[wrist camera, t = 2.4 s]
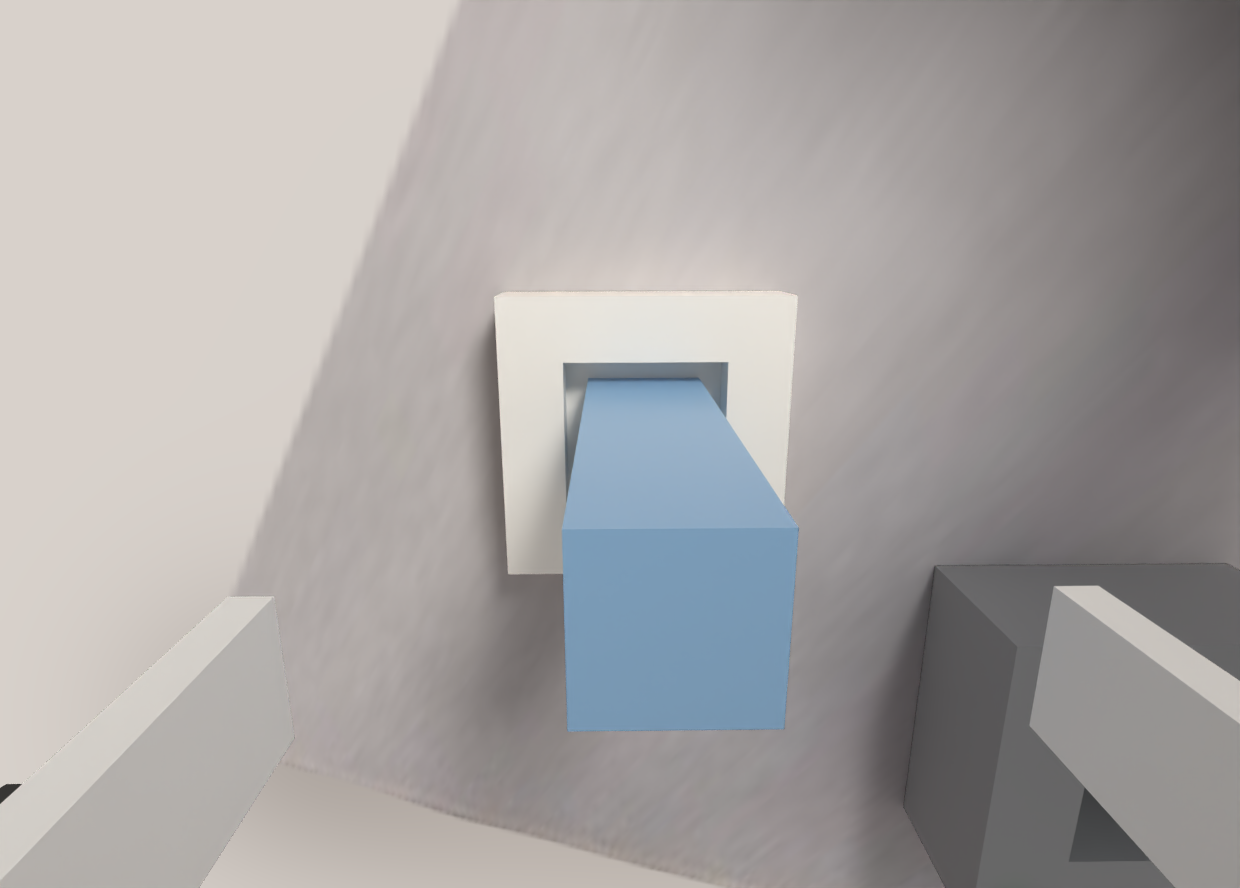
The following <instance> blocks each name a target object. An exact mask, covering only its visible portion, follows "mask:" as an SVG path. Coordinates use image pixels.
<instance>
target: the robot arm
mask: <svg viewBox="0 0 1240 888" xmlns="http://www.w3.org/2000/svg"><path fill="white" fill-rule="evenodd" d="M1029 726H1030V727H1031V728H1032V729H1033V730H1034V731H1035V732H1036V733H1037V735H1038V736H1039V737H1040V738H1041V739H1042V740H1043V741H1044V742H1045V743H1046V745H1047V746H1048V747H1049V748H1050V749H1051V750H1052V751H1053V752H1054V753H1055V755H1056V756H1057V757H1058V758H1059V759H1060V760H1061V761H1062V762H1063V763H1064V765H1065V766H1066V767H1067V768H1068V769H1069V770H1070V771H1071V772H1072V773H1073V775H1074V776H1075V777H1076V778H1077V779H1078V780H1079V781H1080V782H1081V783H1082V785H1083V786H1084V787H1085V788H1086V789H1087V790H1088V791H1089V792H1090V793H1091V795H1092V796H1093V797H1094V798H1095V799H1096V800H1097V801H1098V802H1099V803H1100V805H1101V806H1102V807H1103V808H1104V809H1105V810H1106V811H1107V812H1108V813H1109V815H1110V816H1111V817H1112V818H1113V819H1114V820H1115V821H1116V822H1117V823H1118V825H1119V826H1120V827H1121V828H1122V829H1123V830H1124V831H1125V832H1126V833H1127V835H1128V836H1129V837H1130V838H1131V839H1132V840H1133V841H1134V842H1135V843H1136V845H1137V846H1138V847H1139V848H1140V849H1141V850H1142V851H1143V852H1144V853H1145V855H1146V856H1147V857H1148V858H1149V859H1150V860H1151V861H1152V862H1153V863H1154V865H1155V866H1156V867H1157V868H1158V869H1159V870H1160V871H1161V872H1162V873H1163V875H1164V876H1165V877H1166V878H1167V879H1168V880H1169V881H1170V882H1171V883H1172V885H1173V886H1174V887H1175V888H1240V681H1239V680H1238V679H1236V678H1235V677H1233V676H1232V675H1230V674H1229V673H1227V672H1226V671H1224V670H1223V669H1221V668H1220V667H1218V666H1217V665H1215V664H1214V663H1212V662H1211V661H1209V660H1208V659H1207V658H1205V657H1204V656H1202V655H1201V654H1199V653H1198V652H1196V651H1195V650H1193V649H1192V648H1190V647H1189V646H1187V645H1186V644H1184V643H1183V642H1181V641H1180V640H1178V639H1177V638H1175V637H1174V636H1172V635H1171V634H1169V633H1168V632H1166V631H1165V630H1163V629H1162V628H1160V627H1159V626H1157V625H1156V624H1155V623H1153V622H1152V621H1150V620H1149V619H1147V618H1146V617H1144V616H1143V615H1141V614H1140V613H1138V612H1137V611H1135V610H1134V609H1132V608H1131V607H1129V606H1128V605H1126V604H1125V603H1123V602H1122V601H1120V600H1119V599H1117V598H1116V597H1114V596H1113V595H1111V594H1110V593H1108V592H1107V591H1105V590H1104V589H1102V588H1101V587H1100V586H1054V588H1053V593H1052V599H1051V605H1050V610H1049V616H1048V622H1047V628H1046V633H1045V639H1044V645H1043V650H1042V656H1041V662H1040V667H1039V673H1038V679H1037V684H1036V690H1035V696H1034V701H1033V707H1032V713H1031V719H1030V724H1029ZM294 738H295V735H294V729H293V722H292V715H291V708H290V701H289V694H288V688H287V681H286V674H285V667H284V660H283V653H282V647H281V640H280V633H279V626H278V619H277V612H276V606H275V599H274V596H249V597H227V598H226V599H225V600H223V601H222V602H221V603H220V604H219V605H218V606H217V607H216V608H215V609H214V610H213V611H211V612H210V613H209V614H208V615H207V616H206V617H205V618H204V619H203V620H202V621H200V622H199V623H198V624H197V625H196V626H195V627H194V628H193V629H192V630H191V631H190V632H188V633H187V634H186V635H185V636H184V637H183V638H182V639H181V640H180V641H178V643H176V644H175V645H174V646H173V647H172V648H171V649H170V650H169V651H168V652H167V653H166V654H164V655H163V656H162V657H161V658H160V659H159V660H158V661H157V662H156V663H154V664H153V665H152V666H151V667H150V668H149V669H148V670H147V671H146V672H145V673H143V674H142V675H141V676H140V677H139V678H138V679H137V680H136V681H135V682H134V683H132V684H131V685H130V686H129V687H128V688H127V689H126V690H125V691H124V692H123V693H122V694H120V695H119V696H118V697H117V698H116V699H115V700H114V701H113V702H112V703H111V704H109V705H108V707H106V708H105V709H104V710H103V711H102V712H101V713H100V714H99V715H97V716H96V717H95V718H94V719H93V720H92V721H91V722H90V723H89V724H88V725H86V726H85V727H84V728H83V729H82V730H81V731H80V732H79V733H78V734H77V735H76V736H74V737H73V738H72V739H71V740H70V741H69V742H68V743H67V744H66V745H64V746H63V748H61V749H60V750H59V751H58V752H57V753H56V754H55V755H54V756H52V757H51V758H50V759H49V760H48V761H47V762H46V763H45V764H44V765H43V766H41V768H39V769H38V770H37V771H36V772H35V773H34V774H33V775H32V776H31V777H29V778H28V779H27V780H26V781H25V782H24V783H23V784H6V785H4V786H3V787H1V788H0V888H199V887H200V886H201V884H202V883H203V881H204V880H205V878H206V876H207V875H208V873H209V872H210V870H211V868H212V867H213V865H214V864H215V862H216V861H217V859H218V858H219V856H220V854H221V853H222V851H223V850H224V848H225V847H226V845H227V844H228V842H229V840H230V839H231V837H232V836H233V834H234V833H235V831H236V829H237V828H238V826H239V825H240V823H241V822H242V820H243V818H244V817H245V815H246V814H247V812H248V810H249V809H250V807H251V806H252V804H253V803H254V801H255V800H256V798H257V796H258V795H259V793H260V792H261V790H262V788H263V787H264V786H265V784H266V782H267V781H268V779H269V778H270V776H271V774H272V773H273V771H274V769H275V768H276V767H277V765H278V764H279V762H280V760H281V759H282V757H283V756H284V754H285V753H286V751H287V749H288V748H289V746H290V745H291V743H292V742H293V740H294Z"/></svg>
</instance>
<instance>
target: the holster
mask: <svg viewBox="0 0 1240 888" xmlns="http://www.w3.org/2000/svg"><path fill="white" fill-rule="evenodd" d="M797 301H798V295H794V294H790V293H786V292H783V291H594V292H503V293H501V294H499V295H497V296H494V308H495V328H496V348H497V367H498V387H499V407H500V427H501V446H502V466H503V486H504V505H505V525H506V545H507V564H508V574H563V553H562V526H563V520H564V514H565V509H566V503H567V497H568V491H569V486H570V480H571V474H572V468H573V463H574V457H575V451H576V445H577V440H578V434H579V428H580V422H581V417H582V411H583V405H584V400H585V394H586V388H587V382H588V378H699V379H700V380H701V382H702V383H703V385H704V386H705V388H706V389H707V391H708V392H709V394H710V395H711V397H712V398H713V400H714V401H715V403H716V404H717V406H718V407H719V409H720V410H721V412H722V413H723V415H724V416H725V418H726V419H727V421H728V422H729V424H730V425H731V427H732V428H733V430H734V431H735V433H736V434H737V436H738V437H739V439H740V440H741V442H742V443H743V445H744V446H745V448H746V449H747V451H748V452H749V454H750V455H751V457H752V458H753V460H754V461H755V463H756V464H757V466H758V467H759V469H760V470H761V472H762V473H763V475H764V476H765V478H766V479H767V481H768V482H769V484H770V485H771V487H772V488H773V490H774V491H775V493H776V494H777V496H778V497H779V499H780V500H781V502H782V503H783V505H784V500H785V485H786V470H787V454H788V439H789V424H790V408H791V393H792V378H793V362H794V347H795V332H796V316H797Z"/></svg>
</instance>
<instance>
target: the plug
mask: <svg viewBox="0 0 1240 888" xmlns="http://www.w3.org/2000/svg"><path fill="white" fill-rule="evenodd" d="M798 532H799V527H798V526H797V524H796V523H795V521H794V520H793V518H792V517H791V515H790V514H789V512H788V511H787V509H786V508H785V506H784V505H783V503H782V502H781V500H780V499H779V497H778V496H777V494H776V493H775V491H774V490H773V488H772V487H771V485H770V484H769V482H768V481H767V479H766V478H765V476H764V475H763V473H762V472H761V470H760V469H759V467H758V466H757V464H756V463H755V461H754V460H753V458H752V457H751V455H750V454H749V452H748V451H747V449H746V448H745V446H744V445H743V443H742V442H741V440H740V439H739V437H738V436H737V434H736V433H735V431H734V430H733V428H732V427H731V425H730V424H729V422H728V421H727V419H726V418H725V416H724V415H723V413H722V412H721V410H720V409H719V407H718V406H717V404H716V403H715V401H714V400H713V398H712V397H711V395H710V394H709V392H708V391H707V389H706V388H705V386H704V385H703V383H702V382H701V380H700V379H699V378H588V382H587V388H586V394H585V400H584V405H583V411H582V417H581V422H580V428H579V434H578V440H577V445H576V451H575V457H574V463H573V468H572V474H571V480H570V486H569V491H568V497H567V503H566V509H565V514H564V520H563V526H562V553H563V590H564V626H565V663H566V700H567V731H661V730H759V729H784V726H785V712H786V698H787V684H788V670H789V657H790V643H791V629H792V615H793V601H794V587H795V573H796V559H797V545H798Z"/></svg>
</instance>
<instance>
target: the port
mask: <svg viewBox="0 0 1240 888" xmlns="http://www.w3.org/2000/svg"><path fill="white" fill-rule="evenodd" d="M1054 586H1100V587H1101V588H1102V589H1104V590H1105V591H1107V592H1108V593H1110V594H1111V595H1113V596H1114V597H1116V598H1117V599H1119V600H1120V601H1122V602H1123V603H1125V604H1126V605H1128V606H1129V607H1131V608H1132V609H1134V610H1135V611H1137V612H1138V613H1140V614H1141V615H1143V616H1144V617H1146V618H1147V619H1149V620H1150V621H1152V622H1153V623H1155V624H1156V625H1157V626H1159V627H1160V628H1162V629H1163V630H1165V631H1166V632H1168V633H1169V634H1171V635H1172V636H1174V637H1175V638H1177V639H1178V640H1180V641H1181V642H1183V643H1184V644H1186V645H1187V646H1189V647H1190V648H1192V649H1193V650H1195V651H1196V652H1198V653H1199V654H1201V655H1202V656H1204V657H1205V658H1207V659H1208V660H1209V661H1211V662H1212V663H1214V664H1215V665H1217V666H1218V667H1220V668H1221V669H1223V670H1224V671H1226V672H1227V673H1229V674H1230V675H1232V676H1233V677H1235V678H1236V679H1238V680H1239V681H1240V570H1238V569H1236V568H1234V567H1232V566H1230V565H1229V564H1106V565H977V566H935V572H934V580H933V587H932V595H931V602H930V610H929V618H928V625H927V633H926V641H925V648H924V656H923V663H922V671H921V679H920V686H919V694H918V701H917V709H916V717H915V724H914V732H913V740H912V747H911V755H910V762H909V770H908V778H907V785H906V793H905V800H904V809H905V811H906V813H907V815H908V817H909V819H910V821H911V822H912V824H913V826H914V828H915V830H916V832H917V834H918V836H919V838H920V840H921V842H922V844H923V845H924V847H925V849H926V851H927V853H928V855H929V857H930V859H931V861H932V863H933V865H934V867H935V869H936V870H937V872H938V874H939V876H940V878H941V880H942V882H943V884H944V886H945V888H1175V887H1174V886H1173V885H1172V883H1171V882H1170V881H1169V880H1168V879H1167V878H1166V877H1165V876H1164V875H1163V873H1162V872H1161V871H1160V870H1159V869H1158V868H1157V867H1156V866H1155V865H1154V863H1153V862H1152V861H1151V860H1150V859H1149V858H1148V857H1147V856H1146V855H1145V853H1144V852H1143V851H1142V850H1141V849H1140V848H1139V847H1138V846H1137V845H1136V843H1135V842H1134V841H1133V840H1132V839H1131V838H1130V837H1129V836H1128V835H1127V833H1126V832H1125V831H1124V830H1123V829H1122V828H1121V827H1120V826H1119V825H1118V823H1117V822H1116V821H1115V820H1114V819H1113V818H1112V817H1111V816H1110V815H1109V813H1108V812H1107V811H1106V810H1105V809H1104V808H1103V807H1102V806H1101V805H1100V803H1099V802H1098V801H1097V800H1096V799H1095V798H1094V797H1093V796H1092V795H1091V793H1090V792H1089V791H1088V790H1087V789H1086V788H1085V787H1084V786H1083V785H1082V783H1081V782H1080V781H1079V780H1078V779H1077V778H1076V777H1075V776H1074V775H1073V773H1072V772H1071V771H1070V770H1069V769H1068V768H1067V767H1066V766H1065V765H1064V763H1063V762H1062V761H1061V760H1060V759H1059V758H1058V757H1057V756H1056V755H1055V753H1054V752H1053V751H1052V750H1051V749H1050V748H1049V747H1048V746H1047V745H1046V743H1045V742H1044V741H1043V740H1042V739H1041V738H1040V737H1039V736H1038V735H1037V733H1036V732H1035V731H1034V730H1033V729H1032V728H1031V727H1030V726H1029V724H1030V719H1031V713H1032V707H1033V701H1034V696H1035V690H1036V684H1037V679H1038V673H1039V667H1040V662H1041V656H1042V650H1043V645H1044V639H1045V633H1046V628H1047V622H1048V616H1049V610H1050V605H1051V599H1052V593H1053V588H1054Z"/></svg>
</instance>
